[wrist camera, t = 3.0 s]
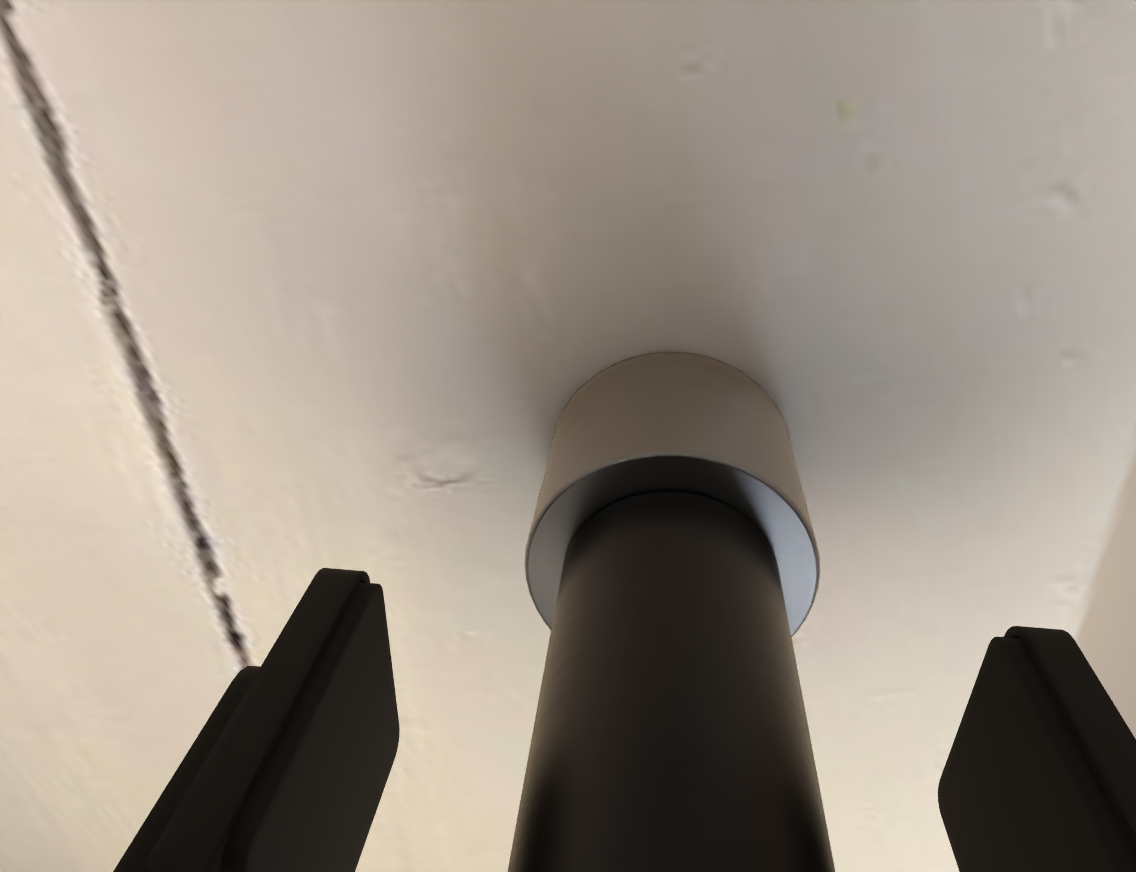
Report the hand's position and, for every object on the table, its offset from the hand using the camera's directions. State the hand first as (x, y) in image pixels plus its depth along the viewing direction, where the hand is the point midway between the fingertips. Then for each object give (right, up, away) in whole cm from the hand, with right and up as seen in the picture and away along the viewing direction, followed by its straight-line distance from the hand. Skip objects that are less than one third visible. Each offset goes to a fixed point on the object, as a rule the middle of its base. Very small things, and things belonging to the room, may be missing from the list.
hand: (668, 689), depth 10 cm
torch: (+1, +3, +5) cm, 6 cm away
